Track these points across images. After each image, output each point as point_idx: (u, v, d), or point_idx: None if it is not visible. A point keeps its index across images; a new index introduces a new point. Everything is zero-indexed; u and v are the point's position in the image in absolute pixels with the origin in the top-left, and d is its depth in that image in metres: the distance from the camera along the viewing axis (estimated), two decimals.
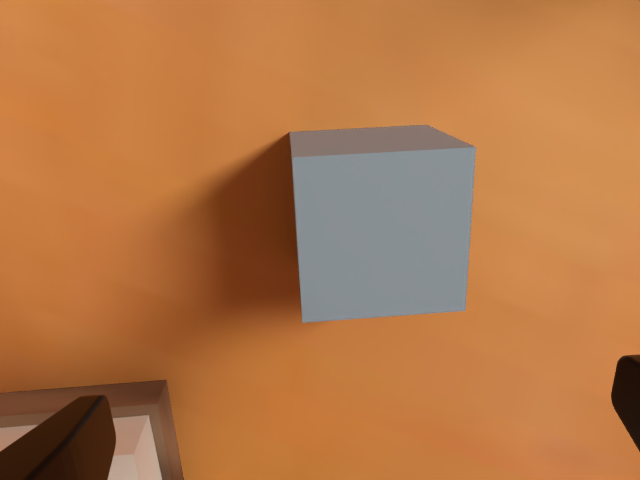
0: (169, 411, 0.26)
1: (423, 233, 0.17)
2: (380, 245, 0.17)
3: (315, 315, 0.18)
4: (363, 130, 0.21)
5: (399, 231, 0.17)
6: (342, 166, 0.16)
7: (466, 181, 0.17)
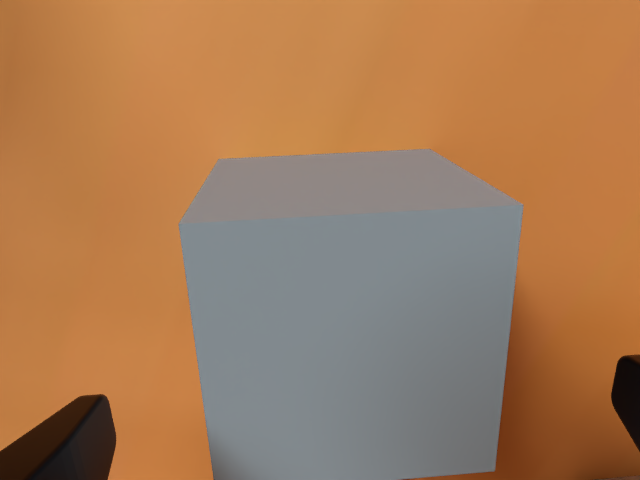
0: None
1: (349, 300, 0.09)
2: (366, 368, 0.10)
3: (484, 454, 0.11)
4: None
5: (341, 340, 0.10)
6: (226, 431, 0.10)
7: (246, 233, 0.09)
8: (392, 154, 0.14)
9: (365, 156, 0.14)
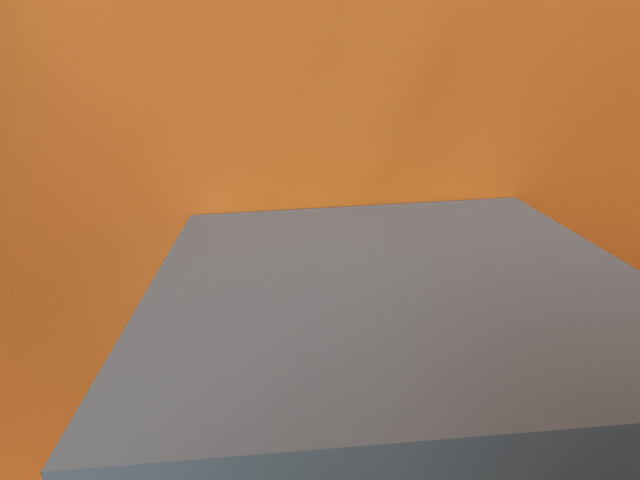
0: None
1: None
2: None
3: None
4: None
5: None
6: None
7: None
8: (463, 210, 0.09)
9: (422, 215, 0.09)
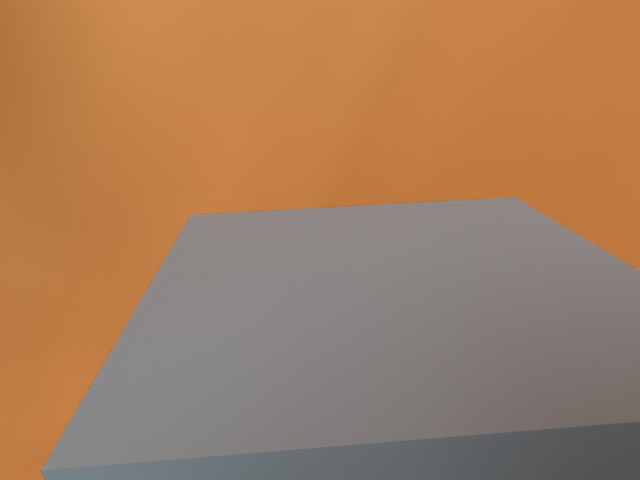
0: None
1: None
2: None
3: None
4: None
5: None
6: None
7: None
8: (463, 210, 0.09)
9: (421, 215, 0.09)
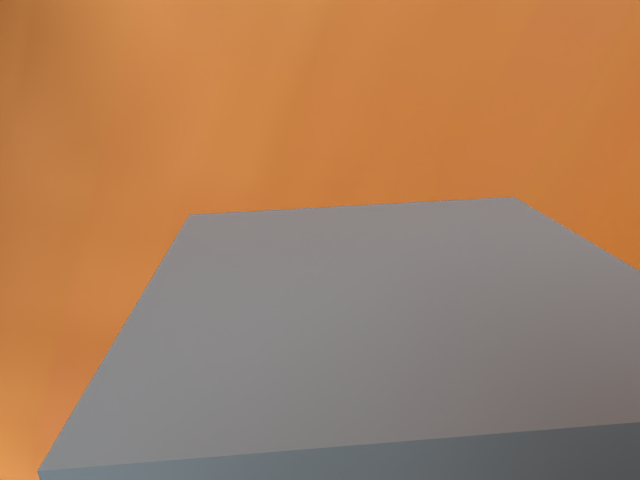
0: None
1: None
2: None
3: None
4: None
5: None
6: None
7: None
8: (462, 210, 0.09)
9: (421, 214, 0.09)
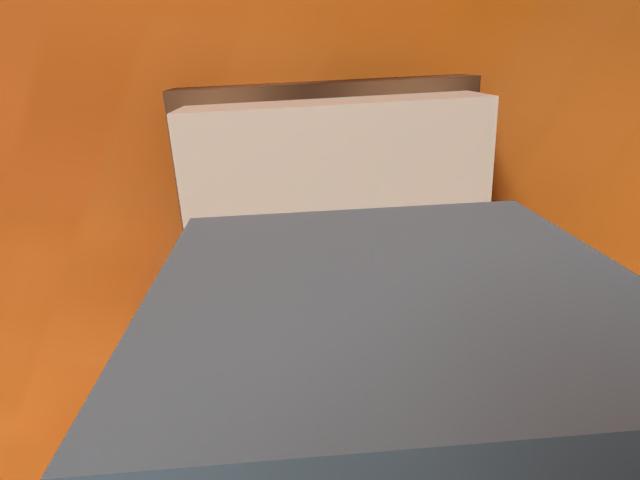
0: (221, 86, 0.17)
1: None
2: None
3: None
4: None
5: None
6: None
7: None
8: (463, 214, 0.09)
9: (421, 218, 0.09)
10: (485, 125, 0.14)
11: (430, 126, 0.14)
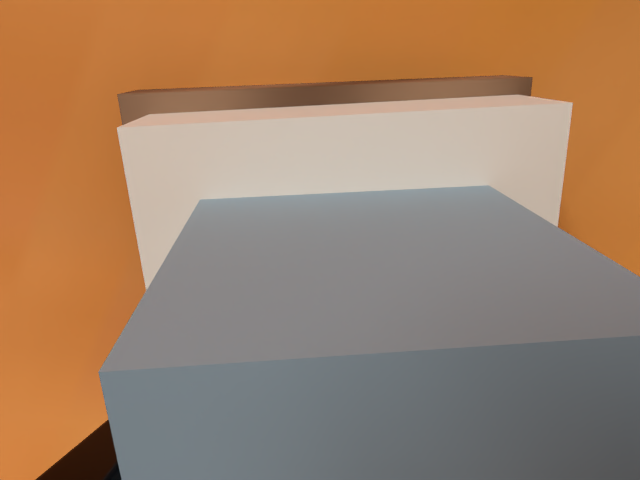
0: None
1: None
2: None
3: None
4: None
5: None
6: None
7: (225, 386, 0.05)
8: (441, 196, 0.10)
9: (404, 199, 0.10)
10: (552, 142, 0.10)
11: (478, 143, 0.10)
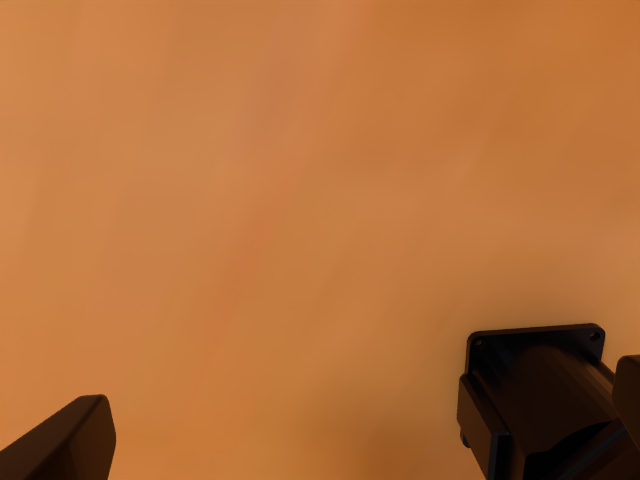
0: None
1: None
2: None
3: None
4: None
5: None
6: None
7: None
8: None
9: None
10: None
11: None
